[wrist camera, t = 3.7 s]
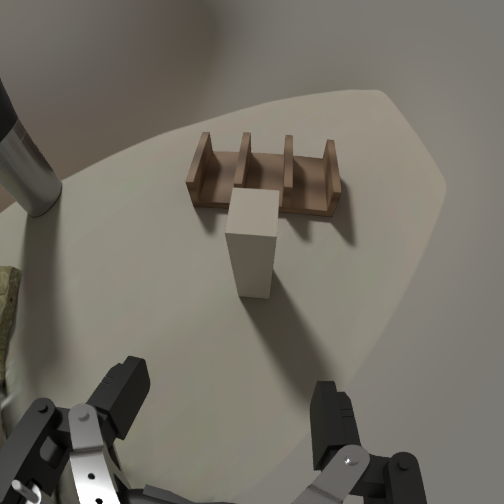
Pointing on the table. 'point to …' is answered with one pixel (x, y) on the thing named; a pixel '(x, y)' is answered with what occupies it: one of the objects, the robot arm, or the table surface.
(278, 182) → the drying rack
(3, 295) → the decorative tile
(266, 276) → the white rectangular block
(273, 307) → the table surface
